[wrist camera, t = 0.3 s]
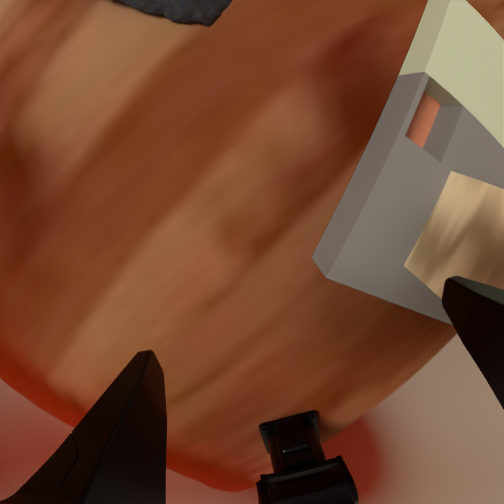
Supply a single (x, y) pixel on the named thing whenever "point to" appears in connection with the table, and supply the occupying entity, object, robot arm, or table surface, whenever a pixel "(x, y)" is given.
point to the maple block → (462, 236)
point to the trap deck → (420, 155)
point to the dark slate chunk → (182, 9)
